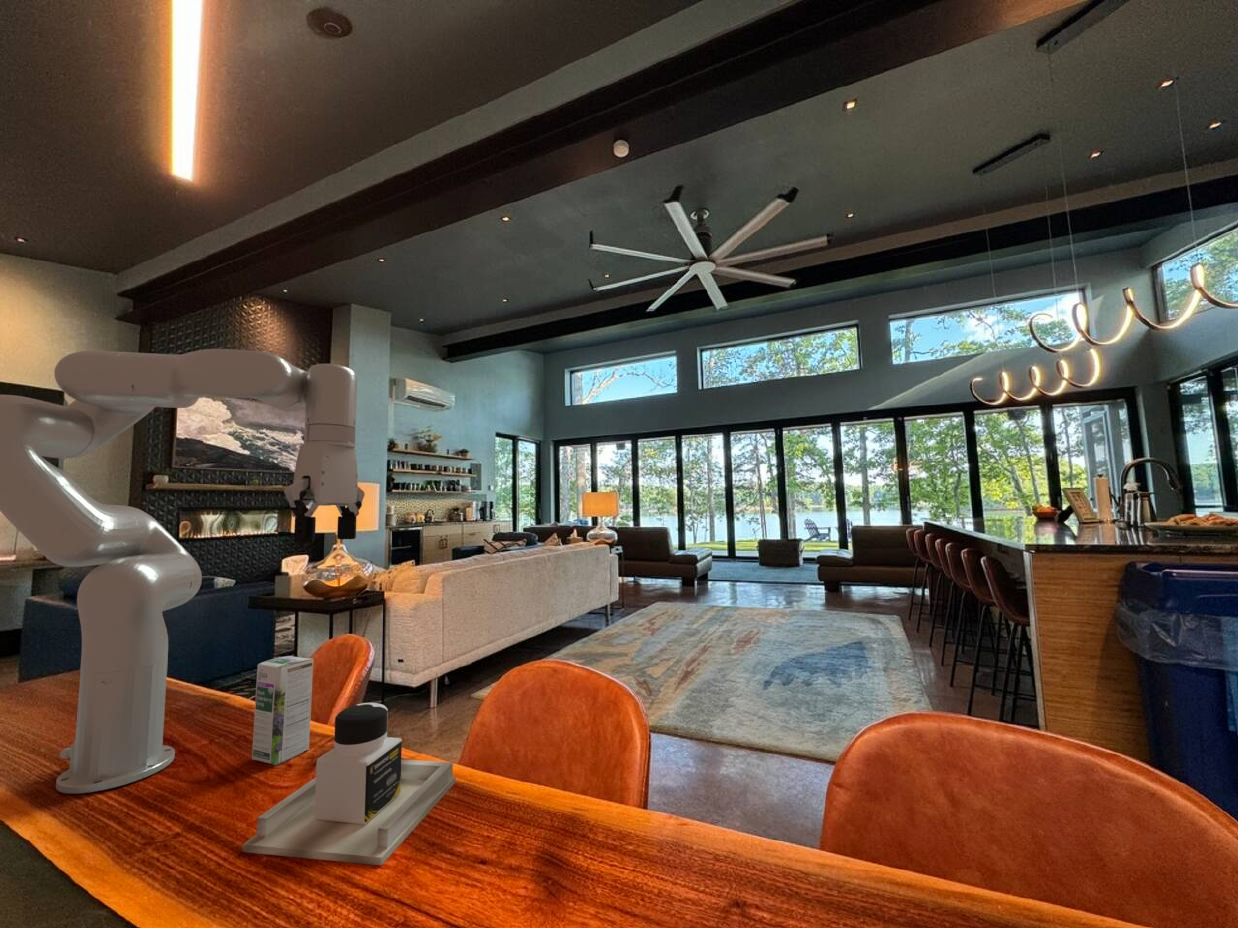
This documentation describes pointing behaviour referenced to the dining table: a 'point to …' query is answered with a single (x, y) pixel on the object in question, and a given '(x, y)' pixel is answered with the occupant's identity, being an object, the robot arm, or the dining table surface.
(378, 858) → the bottle stand
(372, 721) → the medicine bottle
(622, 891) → the dining table surface
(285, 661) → the syrup box
